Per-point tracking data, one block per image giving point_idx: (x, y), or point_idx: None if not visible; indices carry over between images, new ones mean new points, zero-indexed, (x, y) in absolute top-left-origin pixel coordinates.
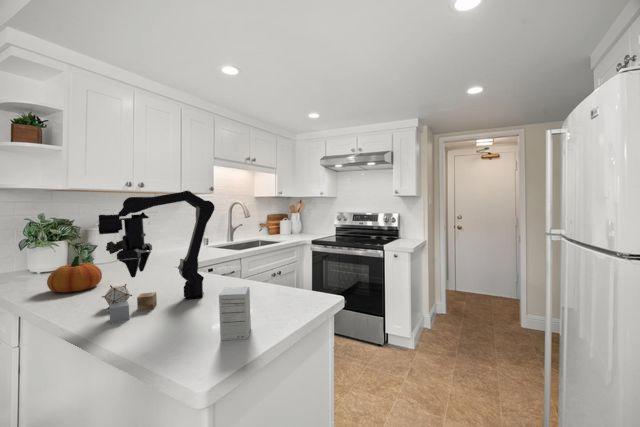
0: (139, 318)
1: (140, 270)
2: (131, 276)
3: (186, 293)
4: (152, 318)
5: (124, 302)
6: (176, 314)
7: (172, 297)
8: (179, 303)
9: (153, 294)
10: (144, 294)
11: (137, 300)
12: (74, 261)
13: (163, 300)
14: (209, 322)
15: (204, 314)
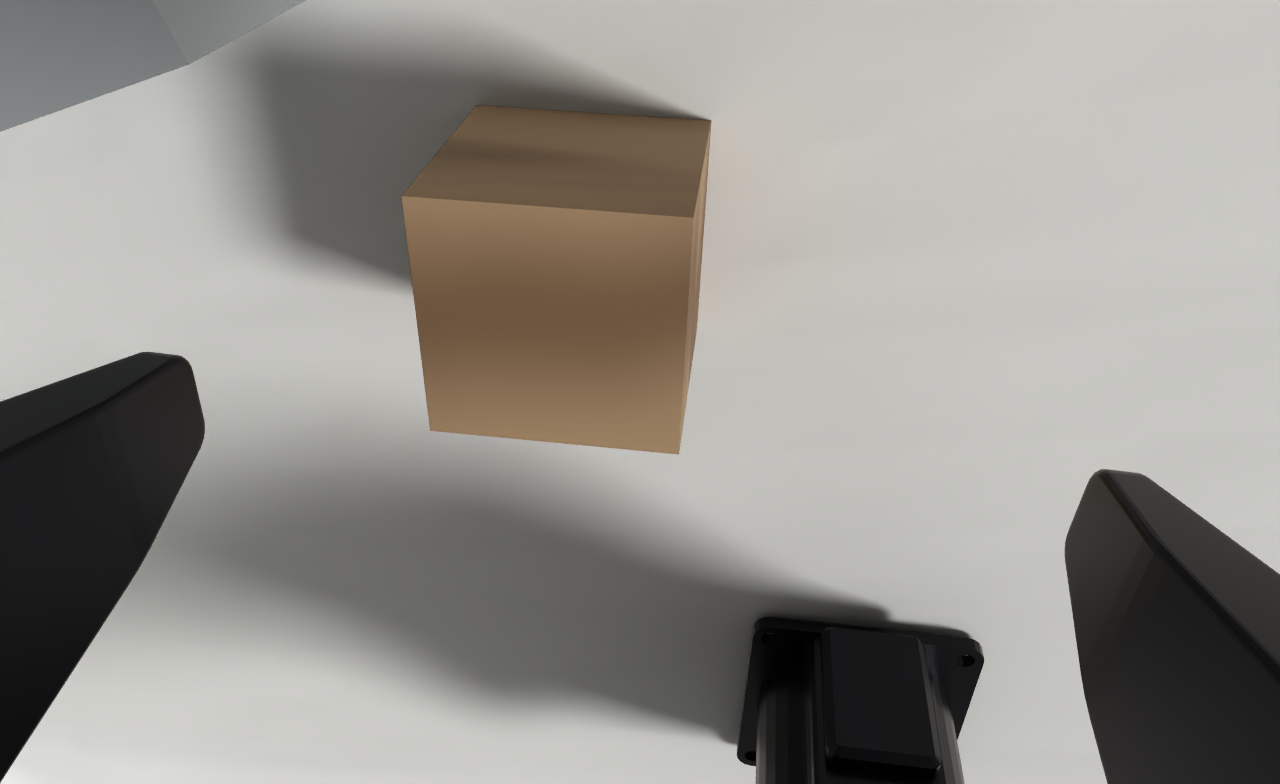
0: (162, 190)
1: (1091, 510)
2: (127, 368)
3: (809, 687)
4: (144, 336)
5: (112, 26)
6: (238, 539)
7: (997, 490)
8: (637, 562)
9: (525, 429)
10: (585, 292)
11: (422, 178)
12: None
13: (902, 392)
14: None
15: (197, 716)
